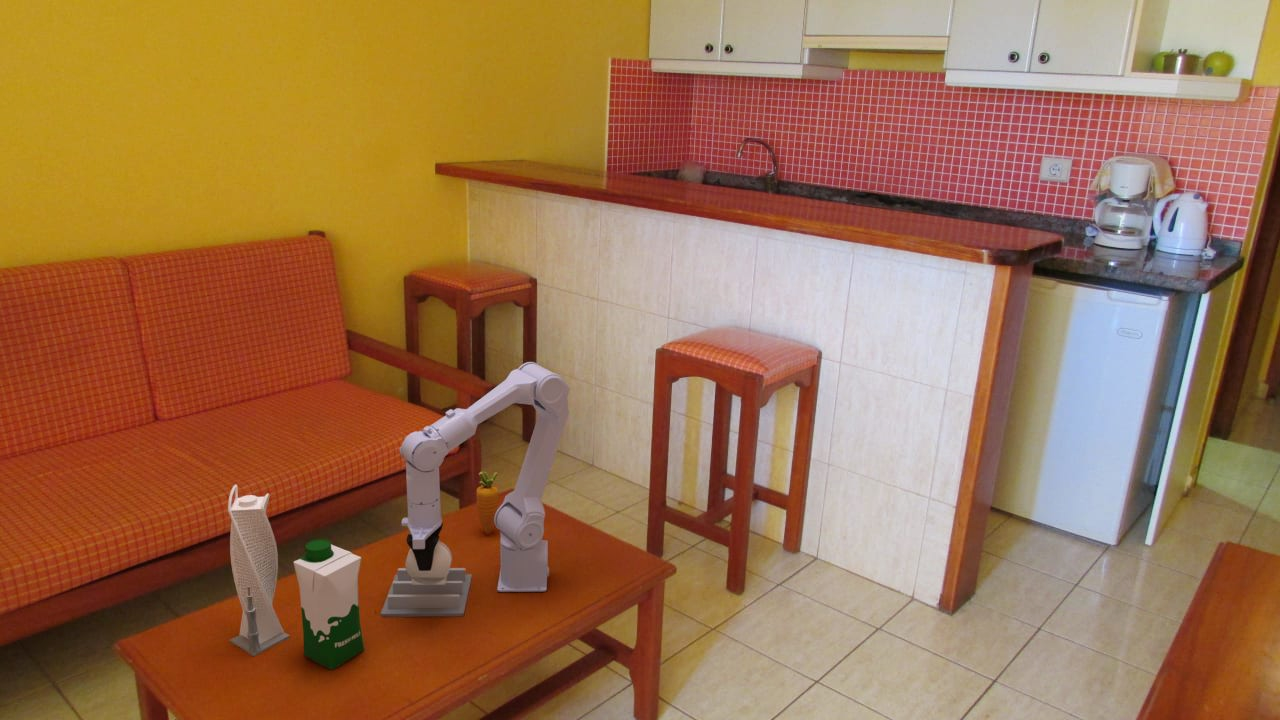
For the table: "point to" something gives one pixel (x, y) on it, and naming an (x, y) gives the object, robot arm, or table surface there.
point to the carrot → (487, 501)
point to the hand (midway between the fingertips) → (426, 565)
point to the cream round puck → (438, 569)
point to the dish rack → (427, 596)
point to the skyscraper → (254, 573)
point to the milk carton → (329, 603)
